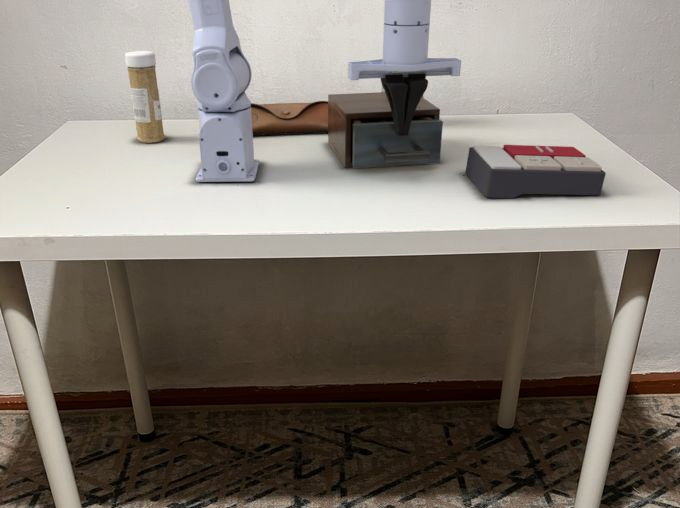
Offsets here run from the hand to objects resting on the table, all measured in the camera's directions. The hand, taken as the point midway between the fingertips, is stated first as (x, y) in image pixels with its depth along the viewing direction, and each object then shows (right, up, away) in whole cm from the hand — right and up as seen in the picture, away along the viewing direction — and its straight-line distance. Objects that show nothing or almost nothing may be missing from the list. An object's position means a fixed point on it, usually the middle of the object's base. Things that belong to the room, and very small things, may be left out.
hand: (401, 133), depth 95 cm
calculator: (+17, -7, -1) cm, 19 cm away
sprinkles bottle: (-39, +5, +21) cm, 44 cm away
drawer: (-1, -2, +7) cm, 7 cm away
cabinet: (-2, +1, +12) cm, 13 cm away
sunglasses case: (-17, +8, +26) cm, 32 cm away
